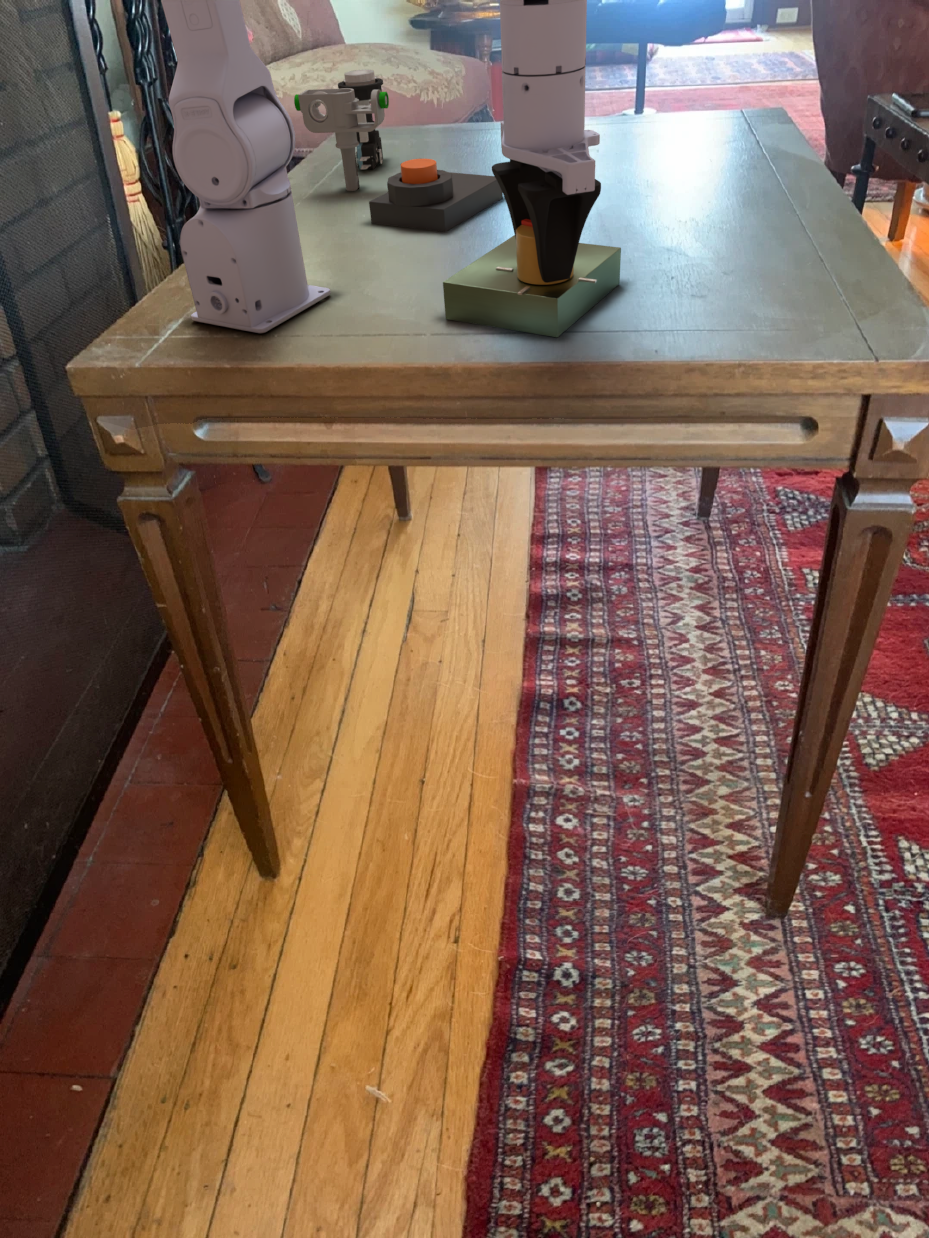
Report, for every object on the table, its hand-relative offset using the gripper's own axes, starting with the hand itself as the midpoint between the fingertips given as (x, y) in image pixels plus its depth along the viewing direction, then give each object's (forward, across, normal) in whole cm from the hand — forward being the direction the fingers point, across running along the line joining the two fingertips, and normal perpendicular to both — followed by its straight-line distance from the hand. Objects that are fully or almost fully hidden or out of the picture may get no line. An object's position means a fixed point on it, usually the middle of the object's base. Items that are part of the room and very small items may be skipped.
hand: (545, 269), depth 72 cm
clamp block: (+3, +3, 0) cm, 5 cm away
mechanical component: (+4, +44, +8) cm, 45 cm away
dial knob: (0, 0, 0) cm, 0 cm away
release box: (+3, +31, +1) cm, 31 cm away
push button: (+4, +53, +4) cm, 53 cm away
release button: (0, +29, +3) cm, 29 cm away
